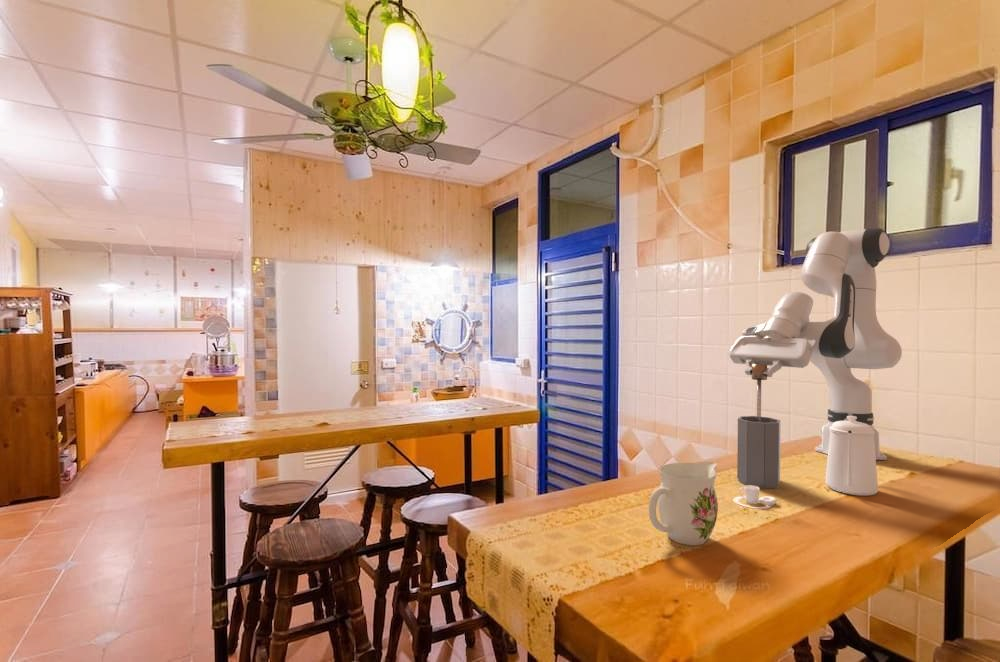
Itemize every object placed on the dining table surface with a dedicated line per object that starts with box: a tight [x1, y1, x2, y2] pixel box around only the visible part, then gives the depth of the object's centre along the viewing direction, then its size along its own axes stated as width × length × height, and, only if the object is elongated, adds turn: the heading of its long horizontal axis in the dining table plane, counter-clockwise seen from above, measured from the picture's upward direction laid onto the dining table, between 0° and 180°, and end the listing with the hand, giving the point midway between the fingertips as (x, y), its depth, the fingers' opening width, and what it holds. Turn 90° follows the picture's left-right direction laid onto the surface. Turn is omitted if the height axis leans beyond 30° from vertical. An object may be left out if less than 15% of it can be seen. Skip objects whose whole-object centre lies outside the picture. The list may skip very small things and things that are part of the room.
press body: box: [736, 415, 782, 490], centre depth 131 cm, size 13×10×17 cm
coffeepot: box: [824, 416, 879, 497], centre depth 124 cm, size 11×25×19 cm, turn 143°
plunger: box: [751, 364, 768, 422], centre depth 130 cm, size 7×7×24 cm
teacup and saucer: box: [733, 485, 777, 510], centre depth 115 cm, size 9×8×4 cm
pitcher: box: [648, 461, 719, 546], centre depth 96 cm, size 11×18×14 cm, turn 119°
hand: (757, 374), depth 129 cm, fingers closed on plunger, 4 cm apart
